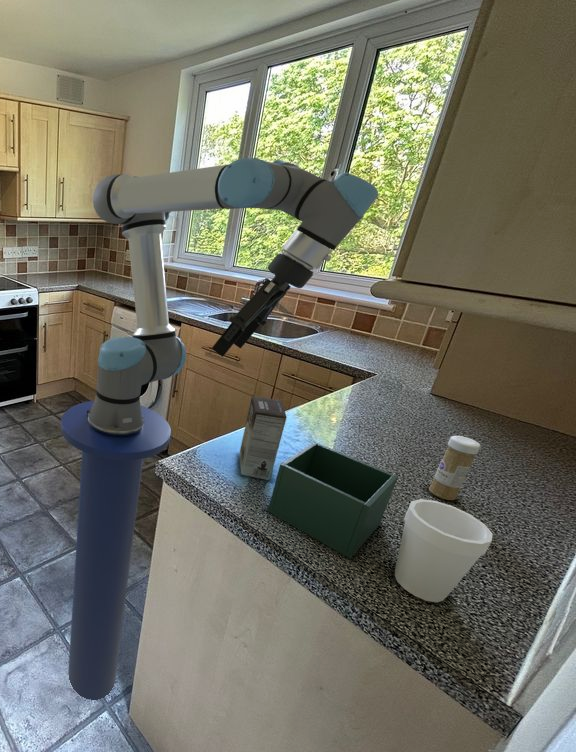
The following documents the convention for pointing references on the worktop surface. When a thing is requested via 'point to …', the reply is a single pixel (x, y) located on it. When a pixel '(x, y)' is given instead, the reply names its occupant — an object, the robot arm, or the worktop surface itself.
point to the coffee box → (262, 437)
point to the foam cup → (438, 548)
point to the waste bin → (331, 497)
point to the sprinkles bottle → (454, 467)
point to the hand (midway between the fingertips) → (226, 348)
